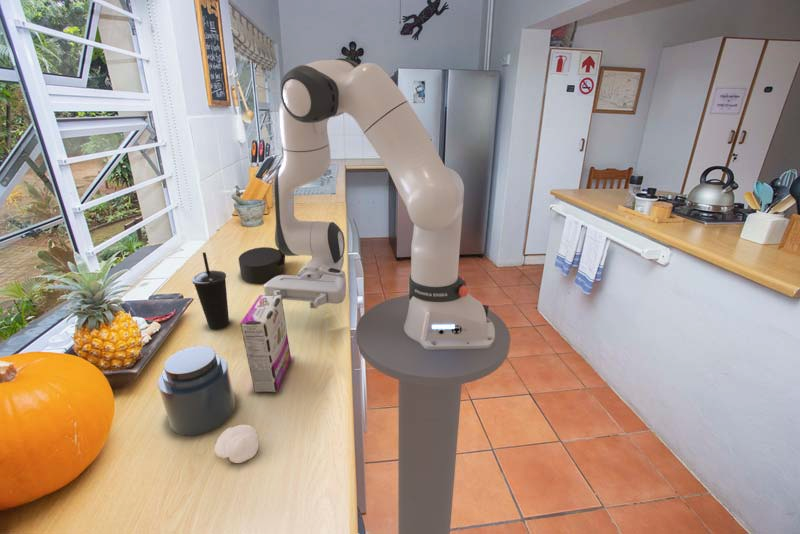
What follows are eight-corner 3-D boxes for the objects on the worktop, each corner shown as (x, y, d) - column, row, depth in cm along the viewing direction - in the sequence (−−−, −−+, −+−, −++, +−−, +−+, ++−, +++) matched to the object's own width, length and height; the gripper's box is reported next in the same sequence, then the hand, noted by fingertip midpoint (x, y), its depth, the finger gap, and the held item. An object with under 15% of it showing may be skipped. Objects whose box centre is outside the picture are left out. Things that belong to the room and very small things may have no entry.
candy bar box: (269, 359, 87) (259, 294, 80) (291, 359, 87) (283, 294, 80) (252, 393, 76) (238, 322, 70) (277, 393, 76) (266, 322, 70)
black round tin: (237, 288, 122) (234, 267, 119) (244, 264, 137) (242, 244, 134) (285, 285, 125) (283, 265, 122) (287, 261, 141) (285, 243, 137)
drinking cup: (215, 335, 95) (198, 261, 88) (196, 327, 99) (179, 254, 91) (241, 322, 101) (228, 251, 94) (222, 314, 105) (208, 245, 97)
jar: (246, 395, 76) (236, 344, 71) (213, 439, 66) (199, 383, 61) (195, 389, 78) (182, 338, 73) (155, 431, 68) (137, 376, 63)
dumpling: (262, 438, 67) (262, 424, 65) (254, 467, 62) (254, 454, 60) (219, 435, 66) (218, 421, 63) (209, 465, 61) (207, 451, 59)
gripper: (276, 266, 103) (250, 288, 91) (350, 271, 100) (334, 295, 88) (279, 287, 106) (254, 312, 93) (351, 293, 103) (335, 319, 90)
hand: (293, 304), depth 90 cm, fingers open, 8 cm apart
